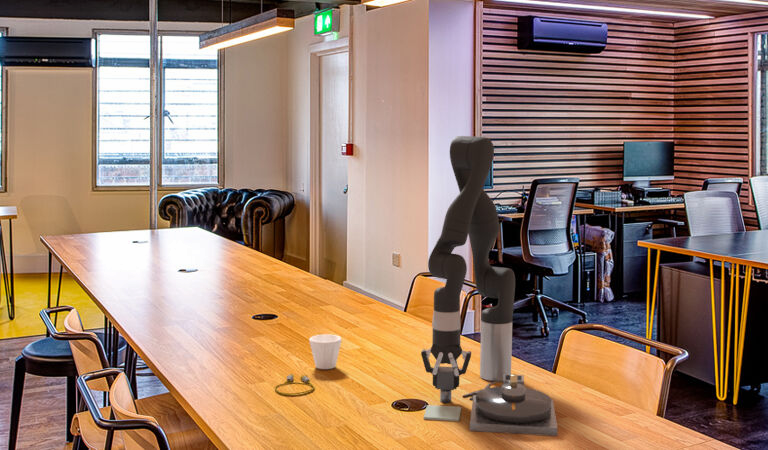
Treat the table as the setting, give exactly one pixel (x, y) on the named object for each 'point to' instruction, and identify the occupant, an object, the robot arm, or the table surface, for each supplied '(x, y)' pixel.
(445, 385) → the block
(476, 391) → the pliers
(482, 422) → the drill stand
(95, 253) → the table surface
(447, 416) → the mat
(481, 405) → the chuck collar
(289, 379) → the olive earphones
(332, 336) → the cup
